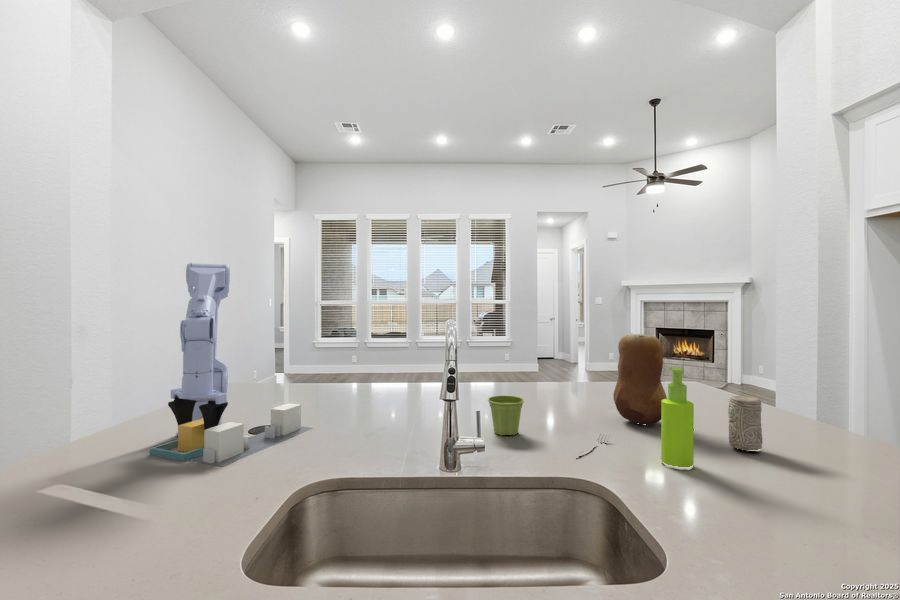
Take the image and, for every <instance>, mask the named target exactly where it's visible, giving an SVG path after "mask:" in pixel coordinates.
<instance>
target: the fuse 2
mask: <svg viewBox="0 0 900 600" xmlns="http://www.w3.org/2000/svg"><path fill="white" fill-rule="evenodd" d="M271 424H276V425H280V435H286V434H289V433H291V432H294V431H296V430H299V429H301V426H302V405H301V404H298V403H286V404H282V405H278V406H275V407H272V408H270V425H271Z"/></svg>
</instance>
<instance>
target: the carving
mask: <svg viewBox="0 0 900 600" xmlns="http://www.w3.org/2000/svg"><path fill="white" fill-rule="evenodd" d="M727 410H728V411H727V415H728V440H729V441H728V443H729V445H731V446H733V447H735V448H738V449H743V450H758V449H763V440H764V439H763V431H762V430H763V429H762V400H761V399H759V398H757V397H753V396H746V395H732V396H731V397H730V398H729V400H728V407H727ZM731 446H730V447H731ZM733 447H732V448H733ZM735 448H734V449H735ZM738 449H737V450H738ZM743 450H742V451H743Z"/></svg>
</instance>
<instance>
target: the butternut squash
mask: <svg viewBox="0 0 900 600" xmlns="http://www.w3.org/2000/svg"><path fill="white" fill-rule="evenodd" d="M617 347H618V355H619V356H618V363H617V371H618V373H617V381H616V384H615V386H614V387H615V388H614V390H613V401H614V404H615V407H616V410H617V412H618V413H619V415H620V416H621V417H622V418H623V419H625V420H628V421H629V422H630V421H631V422H633V423H634V422H635V423H634V424H636V423H639V424H646V425H648V426H649V425H654V424H655V425H656V424H657V423H659V422H660V421H661V400H663V399H668V396H667V395H666V394H667V393H666V391H665V389H664V386H663V384H662V383H663V382H662V381H661V378H662V377H661V376H662V373H663V367H664V356H663V346H662V342H661V340H660V339H659V338H657V337H656V336H654V335H649V334H647V335H646V334H641V333H633V332H632V333H630V332H629V333H626V334H624V335H622V337H621V338H620V340H619V342H618V346H617Z"/></svg>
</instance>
